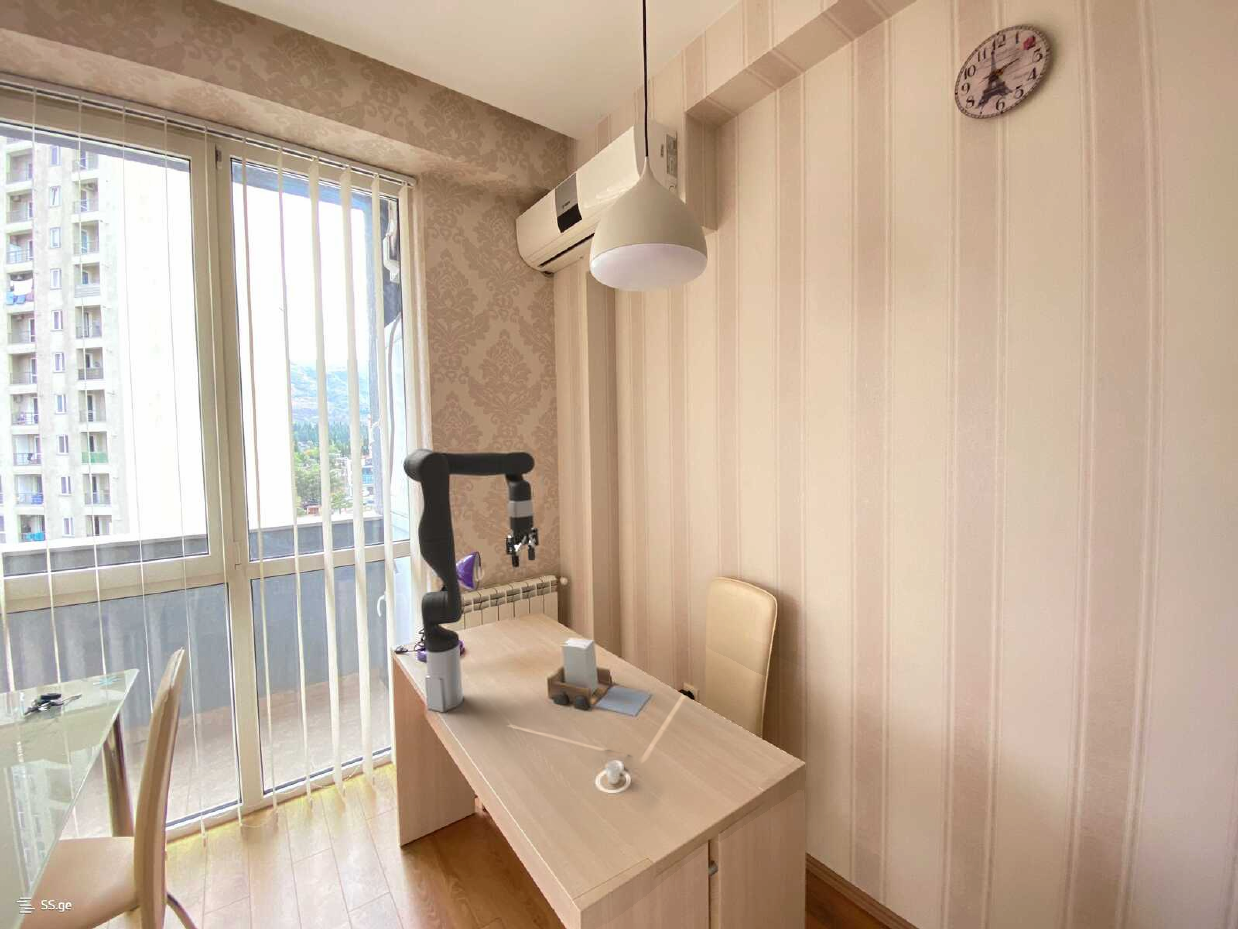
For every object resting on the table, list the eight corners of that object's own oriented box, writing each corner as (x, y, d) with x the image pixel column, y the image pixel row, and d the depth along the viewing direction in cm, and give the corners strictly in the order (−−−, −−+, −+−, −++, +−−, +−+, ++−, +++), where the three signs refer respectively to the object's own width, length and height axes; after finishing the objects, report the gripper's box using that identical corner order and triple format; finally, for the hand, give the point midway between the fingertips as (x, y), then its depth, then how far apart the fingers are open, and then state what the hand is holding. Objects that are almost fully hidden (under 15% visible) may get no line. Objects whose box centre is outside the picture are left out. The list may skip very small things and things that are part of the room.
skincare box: (598, 688, 151) (596, 639, 150) (589, 698, 145) (586, 648, 144) (574, 683, 154) (571, 636, 153) (563, 693, 149) (561, 644, 148)
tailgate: (595, 709, 141) (635, 720, 136) (595, 705, 141) (635, 716, 136) (614, 689, 152) (651, 698, 147) (614, 685, 152) (651, 694, 147)
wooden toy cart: (587, 714, 140) (586, 690, 139) (545, 704, 146) (543, 681, 145) (613, 686, 155) (612, 664, 154) (574, 678, 161) (572, 656, 160)
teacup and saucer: (613, 764, 119) (612, 747, 119) (640, 778, 114) (639, 760, 114) (588, 785, 113) (587, 767, 112) (615, 800, 108) (614, 782, 107)
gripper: (524, 510, 171) (527, 557, 172) (497, 517, 158) (500, 568, 159) (543, 510, 168) (546, 558, 169) (517, 518, 155) (520, 570, 156)
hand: (524, 563), depth 164 cm, fingers open, 8 cm apart
